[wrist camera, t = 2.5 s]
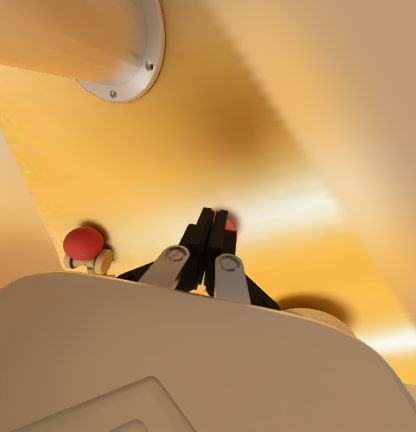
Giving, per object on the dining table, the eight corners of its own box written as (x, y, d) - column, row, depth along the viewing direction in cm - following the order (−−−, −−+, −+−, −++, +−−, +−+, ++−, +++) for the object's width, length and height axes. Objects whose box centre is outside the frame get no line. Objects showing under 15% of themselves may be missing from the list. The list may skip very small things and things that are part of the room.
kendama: (125, 282, 43) (112, 229, 32) (105, 306, 39) (80, 255, 27) (99, 269, 45) (78, 214, 33) (76, 291, 40) (42, 236, 29)
